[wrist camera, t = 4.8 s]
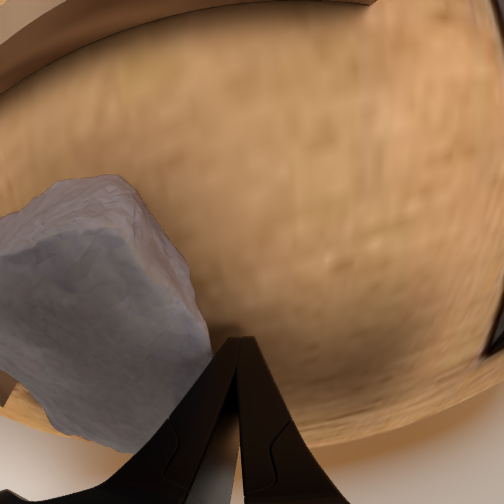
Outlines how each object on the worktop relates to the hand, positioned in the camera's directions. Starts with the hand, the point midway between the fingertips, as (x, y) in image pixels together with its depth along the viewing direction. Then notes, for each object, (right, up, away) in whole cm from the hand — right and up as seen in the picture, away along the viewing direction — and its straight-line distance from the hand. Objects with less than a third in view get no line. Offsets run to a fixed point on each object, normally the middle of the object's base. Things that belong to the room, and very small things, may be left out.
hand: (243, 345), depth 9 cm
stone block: (-5, 0, +2) cm, 6 cm away
